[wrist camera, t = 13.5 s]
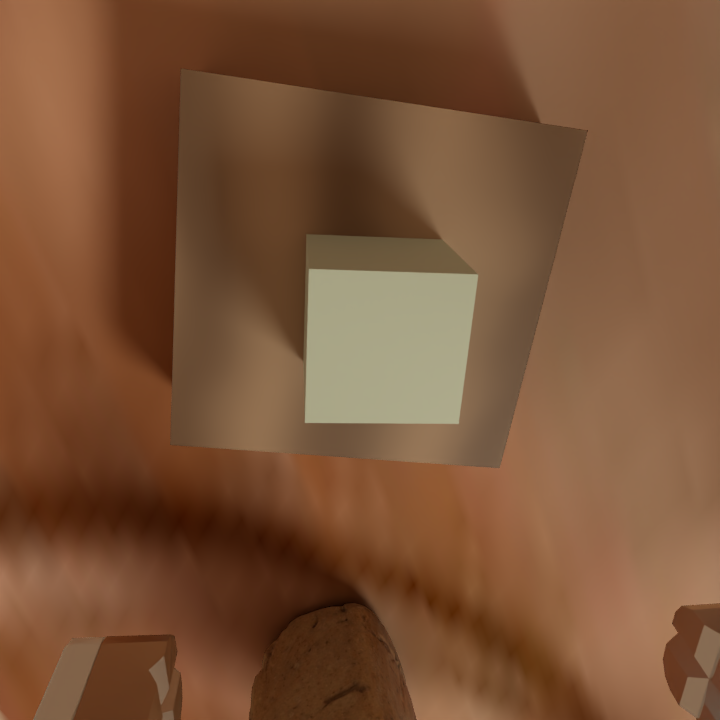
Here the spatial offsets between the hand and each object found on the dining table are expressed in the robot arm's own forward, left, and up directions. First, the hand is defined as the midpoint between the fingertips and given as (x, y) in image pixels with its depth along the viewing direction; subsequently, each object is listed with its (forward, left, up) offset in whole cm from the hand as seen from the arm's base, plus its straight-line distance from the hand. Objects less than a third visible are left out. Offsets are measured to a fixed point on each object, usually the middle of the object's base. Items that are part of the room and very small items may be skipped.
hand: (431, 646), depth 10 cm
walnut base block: (0, -1, -20) cm, 20 cm away
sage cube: (-1, -1, -15) cm, 15 cm away
